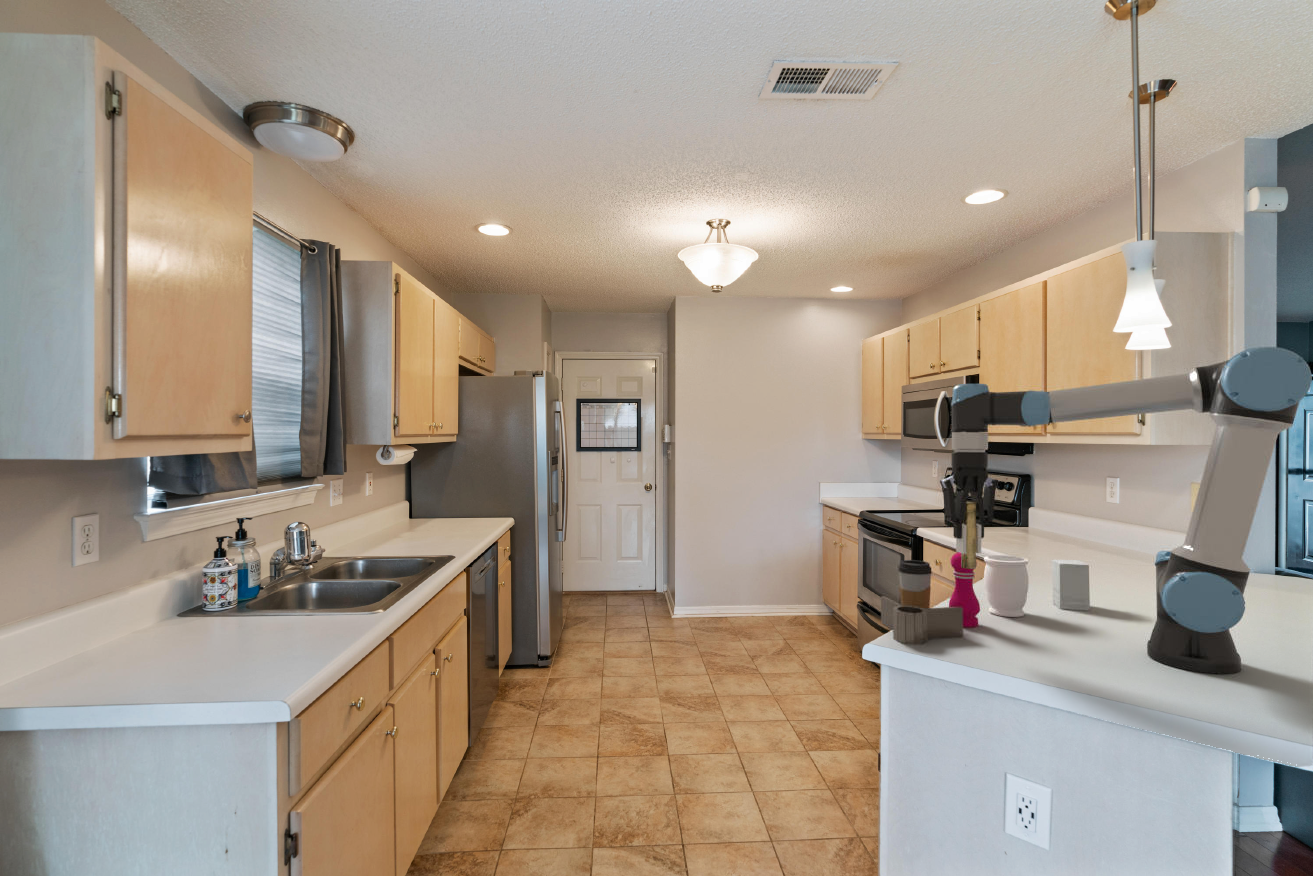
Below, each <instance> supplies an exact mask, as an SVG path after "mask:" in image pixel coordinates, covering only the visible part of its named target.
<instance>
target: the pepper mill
mask: <svg viewBox="0 0 1313 876" xmlns="http://www.w3.org/2000/svg"><path fill="white" fill-rule="evenodd" d="M961 558H962V553H960V552H956V553H954V554H952V556H951V558H950V565H951V567H952V568H953V571H952V577H954V580H955V583H954V589H953V591H952V594H951V596H950V598H949V601H948V607H962V608H963V628H975V627H976V628H977V627H978V626H979V617H977V616H978V614H979V613H980V612H981V605H980V602H979V599H978V597H977V595H976V593H975V589H974V585H973V582H974V578H975V572H974V570H975V569H967V568H962V567H961ZM977 563H978V561H976V567H977V565H978V564H977Z"/></svg>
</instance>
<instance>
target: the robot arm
mask: <svg viewBox="0 0 1313 876" xmlns="http://www.w3.org/2000/svg"><path fill="white" fill-rule="evenodd" d="M1310 368H1311V367H1310V366H1309V364H1308V363H1307V362H1306V360H1304V359H1303V357H1301V356H1300V355H1299V354H1297V353H1295V352H1294V351H1291V350H1288V349H1286V348H1283V347H1277V346H1257V347H1252V348H1247V349H1245V350H1242V351H1241V352H1237V354H1234V355H1233V356H1232V357H1231V358H1230V359H1227V360H1225V361H1224V360H1223V361H1222V362H1218V363H1214V364H1210V365H1205V366H1197V367H1193V368H1191V369H1190V370H1189V371H1188V372H1187V373H1181V374H1175V375H1174V374H1172V375H1164V376H1157V377H1151V378H1150V377H1149V378H1140V379H1135V380H1133V379H1132V380H1127V381H1120V382H1119V381H1118V382H1112V383H1103V384H1098V385H1096V384H1095V385H1087V386H1081V387H1072V388H1066V389H1064V388H1063V389H1058V390H1049V391H1045V390H1026V391H1025V390H1024V391H1023V390H1021V391H1004V392H1003V391H1001V392H995V391H994V392H993V391H990V390H989V385H987V384H986V383H962V384H957V385H955V386H954V387H953V388H952V400H951V403H950V404H951V449H952V450H954V451H952V452H951V467H952V471H951V473H950V476H949V477H947V478H941V479H940V480H939V483H940V486H941V488H942V494H943V495H942V496H943V507H944V519H945V521H947V522H950V523H952V525H953V534H952V535H953V537H954V538H955V543H956V544H955V549H956V550H955V552H956V553H958V552H960V553H963V554H966V536H967V525H963V522H964V515H965V508H966V502H968V501H967V500H968V496H969V495H970V499H971V502H973V503H976V554H982V539H984V537H985V526H987V525H988V523H989V522H990V523H991V522H993V520H994V511H995V498H996V490H997V487H998V486H999V483H1000V481H999V479H996V478H995V479H994V478H992V477H989V475H988V472H987V468H988V466H989V462H988V461H989V459H988V457H989V456H988V455H989V454H988V453H987V452H986V450H988V449H989V429H988V428H989V426H1019V427H1022V428H1023V427H1035V426H1042V425H1043V426H1044V425H1048V424H1055V423H1064V422H1067V423H1068V422H1075V421H1085V420H1094V419H1105V418H1114V417H1123V416H1126V417H1127V416H1134V415H1135V416H1137V415H1144V414H1145V415H1146V414H1156V413H1165V412H1175V411H1184V410H1193V411H1195V412H1197V413H1199V414H1203V413H1208V416H1209V417H1210V419H1212V421H1213V422H1214V423H1215V426H1216V427H1215V430H1214V433H1213V437H1212V440H1211V445H1210V448H1209V452H1208V455H1207V459H1206V461H1205V466H1204V471H1203V473H1202V477H1201V480H1200V484H1199V488H1198V491H1197V494H1196V499H1195V502H1194V507H1193V510H1192V513H1191V516H1190V521H1189V523H1188V528H1187V531H1186V536H1185V539H1184V542H1183V544H1181V545H1180V546H1177V547H1175V548H1173V549H1171V550H1161V551H1158V552H1157V553H1156V555H1155V561H1154V566H1155V580H1156V583H1155V585H1156V587H1155V588H1156V589H1155V590H1156V622H1155V624H1154V626H1153V628H1152V632H1151V635H1150V637H1149V640H1148V641H1147V643H1146V644H1147V645H1146V650H1147V651H1146V653H1147V656H1148V657H1149V658H1151V659H1153V661H1156V662H1159V663H1161V664H1165V665H1167V666H1170V667H1174V668H1179V669H1182V670H1188V671H1194V672H1198V673H1199V672H1200V673H1207V674H1222V675H1223V674H1224V675H1225V674H1235V673H1238V672H1241V670H1242V658H1241V656H1240V654H1239V653H1238V651H1237V648H1236V645H1235V642H1234V639H1233V636H1232V634H1231V631H1230V629H1232V628H1233V627H1234V626H1236V625H1237V624H1239V622H1240V621H1241V620H1242V618H1243V616H1244V614H1245V610H1246V606H1245V605H1246V601H1245V597H1244V593H1245V591H1246V586H1247V582H1248V580H1249V575H1250V571H1251V569H1250V567H1249V566H1248V565H1247V564H1246V563H1245V560H1244V559H1243V556H1244V553H1245V549H1246V547H1247V546H1246V545H1247V543H1248V538H1249V536H1250V532H1251V529H1252V526H1253V521H1254V519H1255V514H1256V511H1257V508H1258V505H1259V502H1260V497H1261V493H1262V490H1263V487H1264V485H1265V484H1264V483H1265V480H1266V478H1267V472H1268V470H1269V467H1270V466H1269V465H1270V462H1271V459H1272V456H1273V453H1274V451H1275V450H1274V448H1275V446H1276V441H1277V439H1278V435H1279V434H1280V433H1282V432H1283V431H1286V430H1288V429H1290V428H1292V427H1293V424H1294V421H1295V418H1296V415H1297V411H1298V409H1299V405H1300V401H1302V399H1304V397H1306V396H1307V393H1308V392H1309V391H1310V388H1311V385H1312V378H1313V377H1312V372H1311V369H1310ZM954 486H955V489H954ZM983 486H984V487H983Z"/></svg>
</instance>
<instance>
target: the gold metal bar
mask: <svg viewBox="0 0 1313 876" xmlns="http://www.w3.org/2000/svg"><path fill="white" fill-rule="evenodd" d="M963 525H967V536H966V554H963V553H962V558H961V567H962V568H967V569H974V570H975V569H976V568H977V566H976V562H977V553H976V503H973V502H972V501H966V508H965V515H964V522H963Z"/></svg>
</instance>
